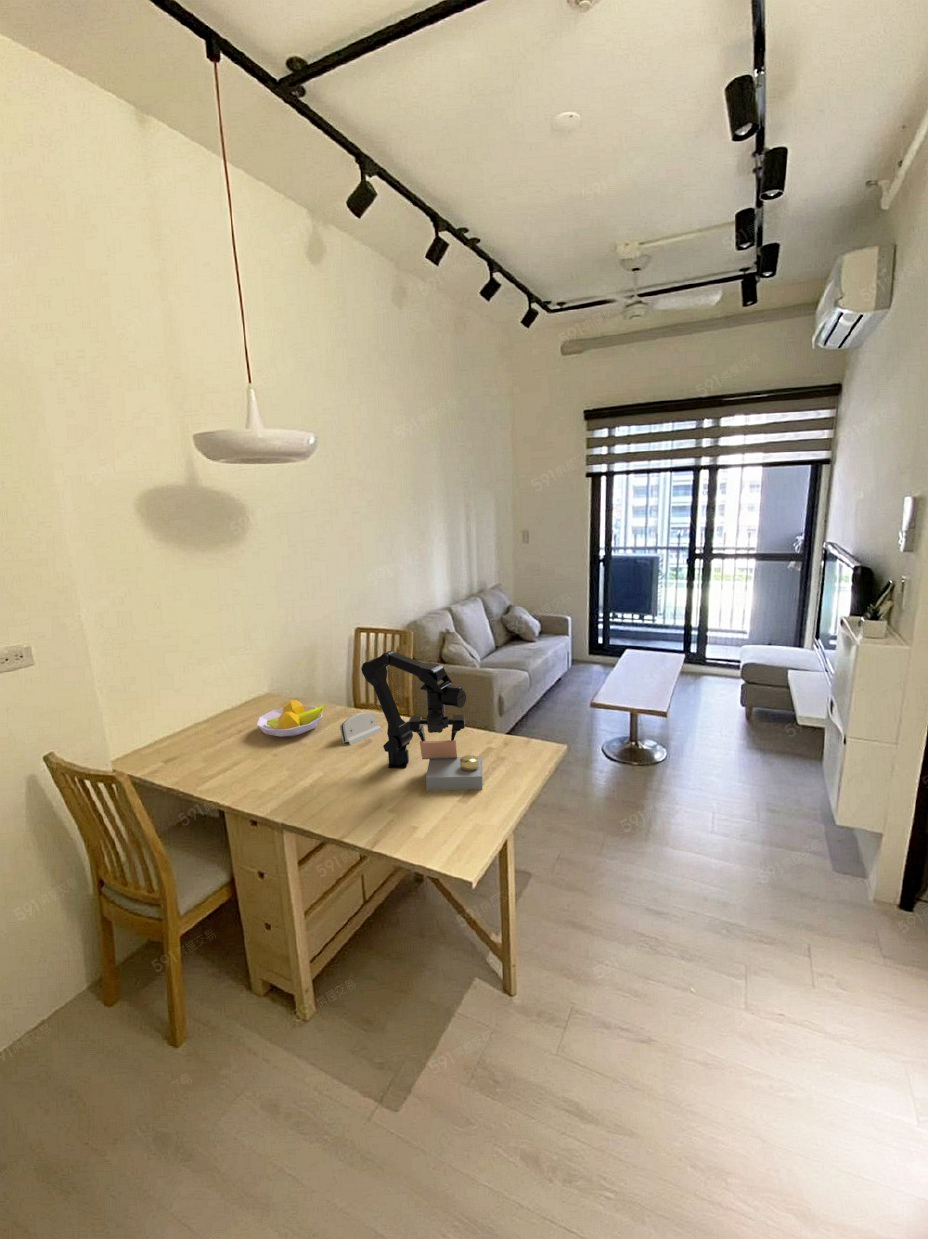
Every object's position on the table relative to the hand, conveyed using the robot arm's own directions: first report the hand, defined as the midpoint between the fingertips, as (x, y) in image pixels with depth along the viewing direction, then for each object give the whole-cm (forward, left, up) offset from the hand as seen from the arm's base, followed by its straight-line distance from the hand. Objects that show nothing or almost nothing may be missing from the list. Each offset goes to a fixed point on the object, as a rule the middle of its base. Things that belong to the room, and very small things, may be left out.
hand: (438, 745), depth 187 cm
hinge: (-35, +33, -11) cm, 49 cm away
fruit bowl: (-64, +41, -10) cm, 77 cm away
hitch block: (+6, -4, -10) cm, 12 cm away
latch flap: (0, +2, -5) cm, 5 cm away
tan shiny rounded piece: (+11, -5, -10) cm, 15 cm away
